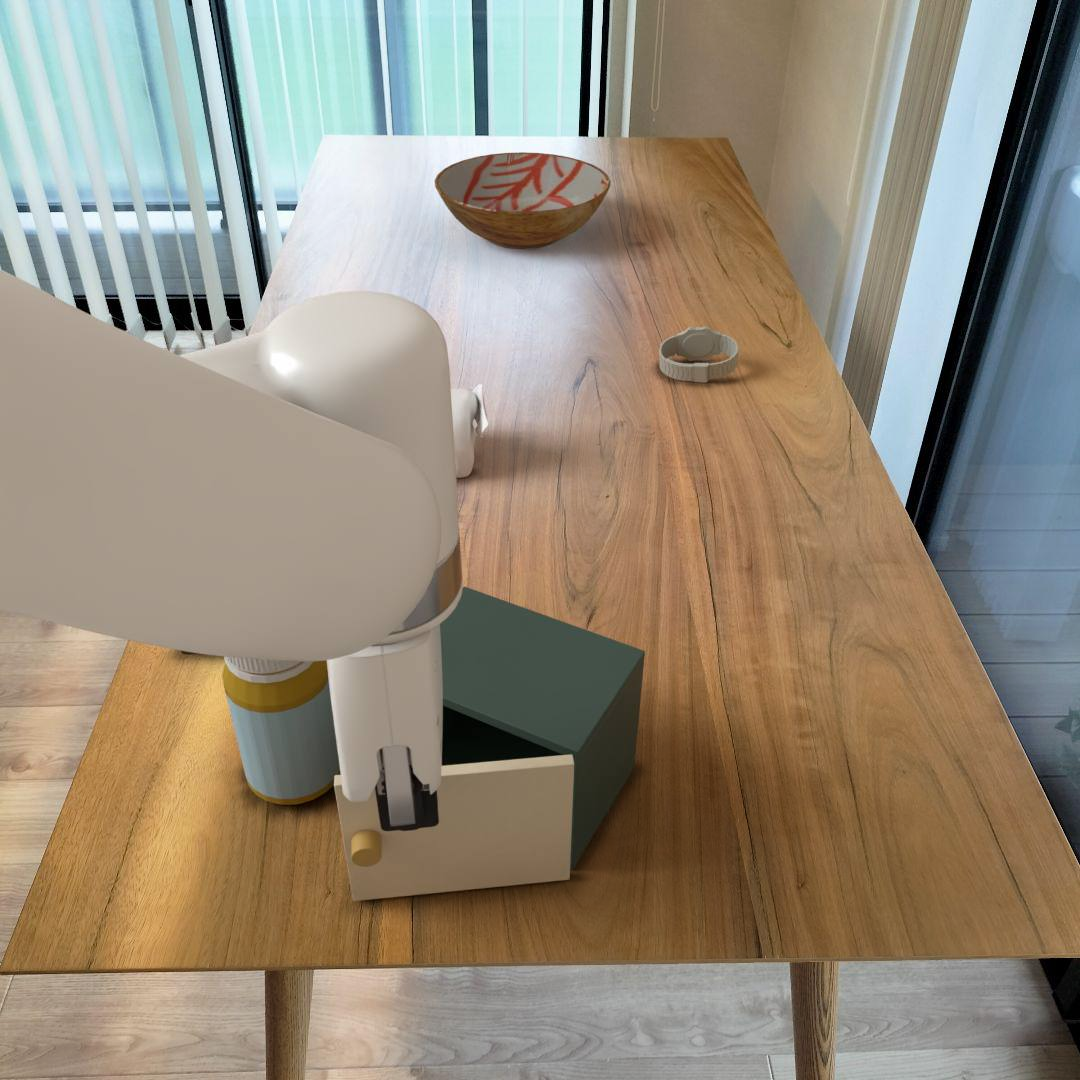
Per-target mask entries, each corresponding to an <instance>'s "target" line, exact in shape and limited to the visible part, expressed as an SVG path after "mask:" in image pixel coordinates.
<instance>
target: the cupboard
mask: <svg viewBox="0 0 1080 1080" xmlns="http://www.w3.org/2000/svg"><path fill="white" fill-rule="evenodd" d="M440 635H441V654H442V683H443V733H442V766H446V765H457V764H469V763H480V762H491V761H503V760H514V759H525V758H537V757H548V756H559V755H571V754H572V755H573V760H574V783H573V808H572V833H571V858H570V870H574V869H575V867H576V866H577V864H578V862H580V861H579V860H580V859H581V858H582V856H583V854H584V852H585V850H586V849H587V847H588V846H589V844H590V842H591V840H592V839H593V837H594V836H595V834H596V832H597V830H598V829H599V828H600V826H601V824H602V823H603V820H604V819H605V817H606V816H607V814H608V813H609V810H610V809H611V808H612V806H613V804H614V802H616V801H615V800H616V799H617V797H618V796H619V794H620V792H621V791H622V789H623V787H624V786H625V784H626V782H627V781H628V779H629V778H630V776H631V774H632V772H633V771H634V769H635V765H636V754H637V743H638V742H637V741H638V733H639V723H640V708H641V701H642V700H641V699H642V690H643V679H644V668H645V666H644V665H645V656H646V651H645V650H643V649H640V648H638V647H636V646H632V645H631V644H630V645H629V644H627V643H624V642H621V641H619V640H615V639H613V638H610V637H607V636H605V635H602V634H598V633H596V632H593V631H590V630H587V629H585V628H582V627H580V626H577V625H574V624H571V623H568V622H565V621H562V620H559V619H557V618H554V617H551V616H549V615H546V614H543V613H541V612H538V611H535V610H532V609H529V608H527V607H523V606H520V605H518V604H515V603H512V602H509V601H507V600H505V599H501V598H499V597H495V596H493V595H490V594H487V593H484V592H482V591H479V590H476V589H473V588H470V587H467V586H465V585H463V589H462V595H461V598H460V600H459V602H458V604H457V606H456V608H455V609H454V611H453V612H452V613H451V614H450V615H449V616H448V618H446V619H445V620H444V621H443V622H442V623H440Z"/></svg>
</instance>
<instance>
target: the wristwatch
mask: <svg viewBox="0 0 1080 1080" xmlns="http://www.w3.org/2000/svg"><path fill="white" fill-rule="evenodd" d="M659 345H660V346H659V349H658V355H659V356H658V358H659V369H660V371H661V373H662V374H663V375H664V376H666V377H669V378H670V379H673V380H676V381H683V382H694V383H705V384H706V383H709V381H710V380H716V379H717V380H718V379H721V378H724V377H726V376H727V377H728V375H730V374H732V373H733V372H735V370H737V367H738V361H739V359H738V358H739V345H738V343H737V341H736V340H735V339H734V338H733V337H731V336H729V335H727V334H724V333H723V334H722V332H721V331H716V330H714V329H712V328H710V326H699V327H698V326H697V327H695V326H688V327H687V328H686V329H685V330H683V331H681V332H679V333H676V334H675V335H671V336H670V337H668V338H666V339H664V340H663V341H662V342H661V344H659ZM721 354H722V355H725V356H728V357H729V358H727V359H724V360H721V361H718V362H713V363H710V362H705V361H709V360H710V359H711V358H713V357H715V356H719V355H721ZM674 356H675V357H676V356H678V357H682V358H684V359H686V360H687V361H688V362H693V363H684V362H678V361H674V360H673V359H670V357H674ZM695 361H704V362H695Z"/></svg>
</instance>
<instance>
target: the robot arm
mask: <svg viewBox="0 0 1080 1080" xmlns="http://www.w3.org/2000/svg"><path fill="white" fill-rule="evenodd" d="M447 345H448V344H447V340H446V337H445V335H444V333H443V331H442V329H441V327H440V325H439V323H438V322H437V320H436V319H435V318H434V317H433V316H432V315H431V314H430V313H429V312H428V311H427V309H425V308H423V307H422V306H420V305H419V304H417V303H415V302H413V301H411V300H410V299H407V298H405V297H402V296H398V295H395V294H391V293H386V292H380V291H370V290H350V291H339V292H332V293H326V294H321V295H318V296H314V297H311V298H308V299H304V300H302V301H300V302H298V303H295V304H293V305H291V306H290V307H288V308H286V309H284V310H283V311H282V312H281V313H280V314H278V315H277V316H276V317H275V318H273V320H271V321H270V322H269V324H268V325H267V326H266V327H265V328H264V329H263V330H261V331H257V332H255V333H252V334H249V335H246V336H243V337H240V338H237V339H235V340H234V339H233V340H230V341H227V342H224V343H220V344H216V345H213V346H209V347H205V348H202V349H198V350H196V351H191V352H188V353H187V352H186V353H183V354H176V353H174V352H172V351H170V350H166V348H165V349H164V348H162V347H160V346H158V345H156V344H154V343H151V342H148V341H147V340H144V339H142V338H140V337H138V336H136V335H134V334H132V333H129V332H128V331H125V330H124V329H121V328H118V327H117V326H114V325H112V324H110V323H109V322H106V321H104V320H102V319H99V318H97V317H95V316H94V315H91V314H89V313H88V312H85V311H83V310H81V309H79V308H78V307H76V306H73V305H72V304H71V303H67V302H65V301H64V300H62V299H60V298H58V297H56V296H54V295H52V294H51V293H49V292H47V291H45V290H43V289H41V288H40V287H37V286H35V285H33V284H31V283H29V282H27V281H25V280H23V279H22V278H19V277H17V276H15V275H13V274H11V273H9V272H7V271H4V269H3V270H2V269H1V268H0V611H1V612H6V613H11V614H15V615H19V616H23V617H29V618H33V619H37V620H42V621H46V622H49V623H53V624H58V625H62V626H67V627H71V628H75V629H79V630H83V631H87V632H91V633H95V634H100V635H102V636H103V635H104V636H107V637H108V636H109V637H113V638H117V639H122V640H127V641H131V642H133V643H134V642H135V643H139V644H145V645H149V646H154V647H159V648H164V649H169V650H175V651H180V652H181V651H187V652H193V653H192V654H201V655H207V656H216V657H223V658H224V657H234V658H249V659H266V660H283V661H304V662H310V661H324V660H327V669H328V679H329V688H330V696H331V704H332V712H333V720H334V727H335V735H336V742H337V749H338V757H339V765H340V773H341V781H342V790H343V794H344V796H345V797H346V798H347V799H348V800H349V801H350V802H367V801H368V800H369V798H370V797H371V795H372V793H373V791H374V789H375V793H376V799H377V806H378V812H379V819H380V826H381V829H382V830H384V831H397V830H400V831H410V830H417V829H419V828H426V827H434V826H436V825H438V823H439V814H438V798H437V789H438V787H439V786H440V785H441V768H442V733H443V683H442V654H441V635H440V623H442V622H443V621H444V620H445V619H446V618H448V616H449V615H450V614H451V613H452V612H453V611H454V609H455V608H456V606H457V604H458V602H459V600H460V598H461V595H462V589H463V587H464V581H463V570H462V569H463V568H462V553H461V536H460V521H459V504H458V503H459V501H458V487H457V485H458V484H457V478H456V466H455V450H454V434H453V418H452V402H451V389H452V387H451V370H450V360H449V353H448V346H447Z"/></svg>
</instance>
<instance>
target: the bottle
mask: <svg viewBox="0 0 1080 1080" xmlns="http://www.w3.org/2000/svg"><path fill="white" fill-rule="evenodd" d="M223 659H224V666H223V670H222V674H221V675H222V676H221V677H222V678H221V679H222V683H223V688H224V693H225V696H226V697H225V698H226V700H227V705H228V710H229V713H230V717H231V722H232V725H233V729H234V734H235V738H236V741H237V746H238V751H239V755H240V758H241V759H240V760H241V763H242V766H243V771H244V775H245V779H246V782H247V785H248V787H249V788H250V790H251V791H252V793H254V794H255V796H257V797H258V798H261V800H264V801H265V802H268V803H273V804H277V805H283V806H289V805H291V806H292V805H301V804H304V803H308V802H311V801H313V800H315V799H317V798H319V797H320V796H322V795H324V794H325V793H327V792H328V791H330V789H331V788H332V787H334V776H335V775H341V773H340V765H339V757H338V749H337V742H336V735H335V727H334V720H333V712H332V704H331V696H330V688H329V679H328V669H327V660H324V661H310V662H304V661H283V660H266V659H249V658H234V657H224V656H223Z"/></svg>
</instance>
